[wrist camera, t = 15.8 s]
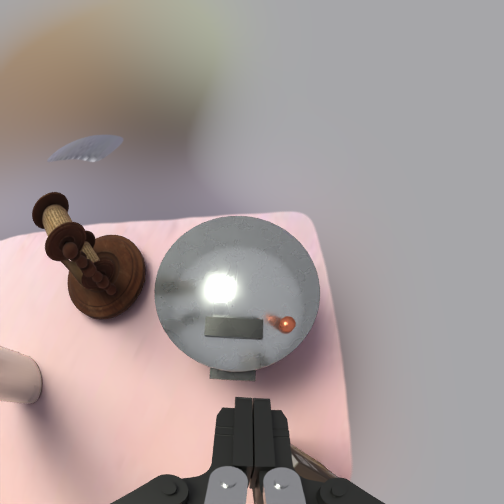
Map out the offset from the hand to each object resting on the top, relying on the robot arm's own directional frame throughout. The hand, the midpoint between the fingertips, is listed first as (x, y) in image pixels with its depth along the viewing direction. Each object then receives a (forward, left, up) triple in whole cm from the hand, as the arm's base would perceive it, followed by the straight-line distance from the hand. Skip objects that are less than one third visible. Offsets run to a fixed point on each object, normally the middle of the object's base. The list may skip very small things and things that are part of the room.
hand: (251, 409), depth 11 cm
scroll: (-29, +4, -29) cm, 41 cm away
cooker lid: (-6, +10, -18) cm, 22 cm away
